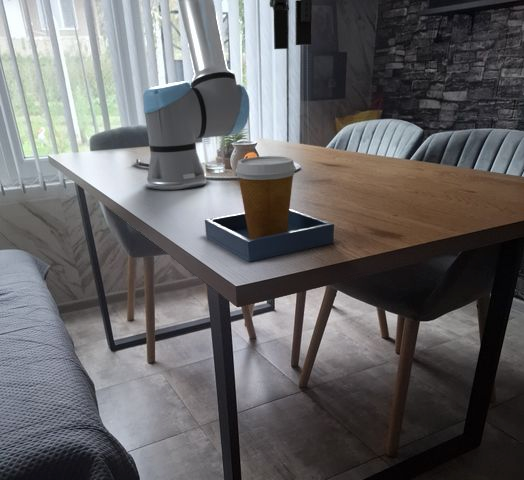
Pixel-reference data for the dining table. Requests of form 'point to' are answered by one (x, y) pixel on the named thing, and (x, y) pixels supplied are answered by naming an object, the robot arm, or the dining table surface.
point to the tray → (295, 239)
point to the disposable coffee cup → (266, 193)
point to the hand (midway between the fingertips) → (291, 47)
